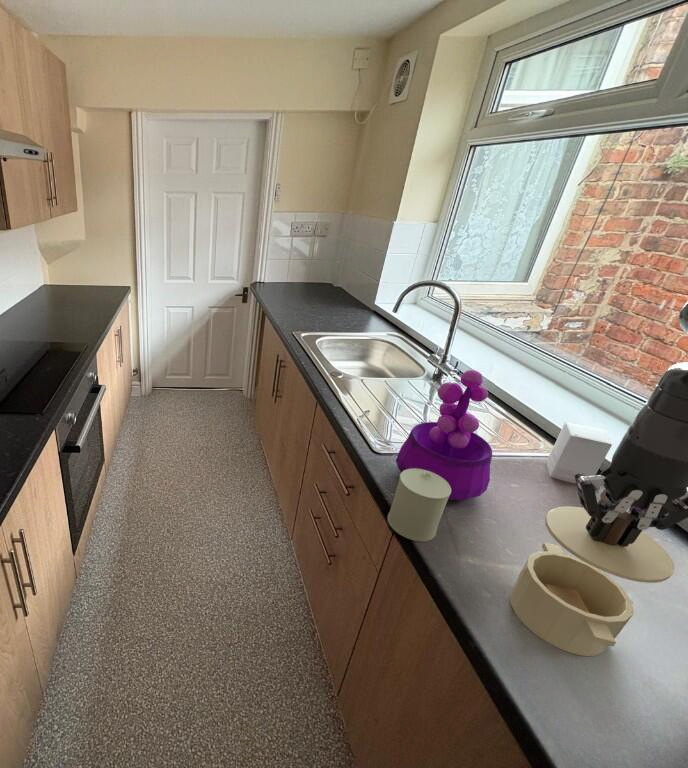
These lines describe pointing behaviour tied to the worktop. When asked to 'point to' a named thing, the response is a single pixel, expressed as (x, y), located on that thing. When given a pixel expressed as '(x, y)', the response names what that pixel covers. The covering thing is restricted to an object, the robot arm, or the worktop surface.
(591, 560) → the lid
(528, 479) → the worktop surface
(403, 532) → the can
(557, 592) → the block
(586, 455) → the white packaging box
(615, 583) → the pot
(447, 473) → the decorative plant
